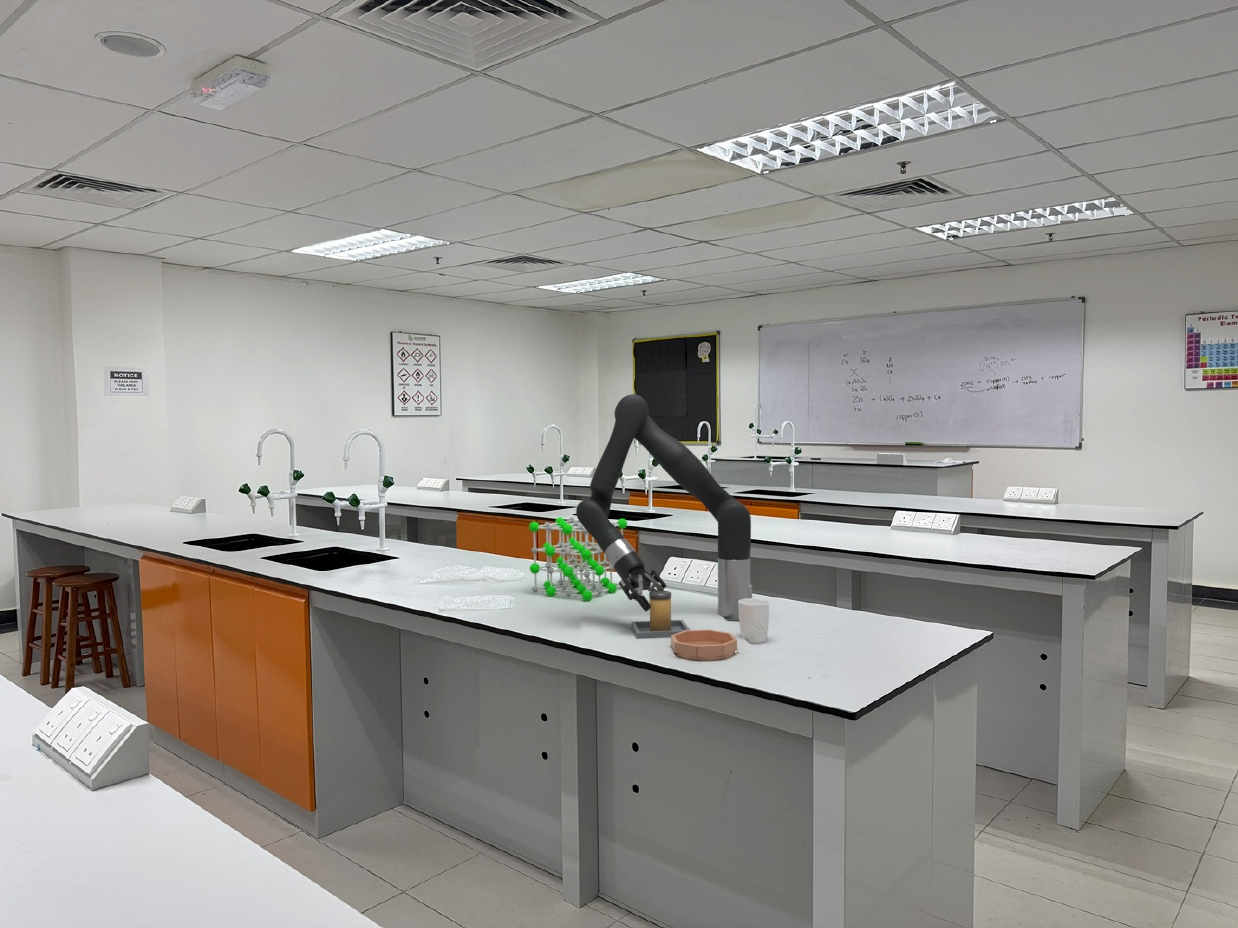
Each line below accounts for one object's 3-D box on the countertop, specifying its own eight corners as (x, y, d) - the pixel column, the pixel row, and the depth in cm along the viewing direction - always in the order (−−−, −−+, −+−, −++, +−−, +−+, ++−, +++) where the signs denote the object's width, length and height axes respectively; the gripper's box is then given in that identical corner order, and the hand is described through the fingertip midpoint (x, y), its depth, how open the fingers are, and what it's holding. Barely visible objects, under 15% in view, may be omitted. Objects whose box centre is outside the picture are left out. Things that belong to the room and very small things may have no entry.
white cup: (762, 645, 206) (762, 606, 205) (733, 641, 210) (733, 602, 209) (774, 638, 212) (773, 600, 212) (745, 634, 216) (745, 597, 216)
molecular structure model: (630, 588, 279) (629, 518, 278) (588, 602, 258) (587, 526, 257) (572, 582, 292) (571, 514, 291) (528, 594, 271) (526, 522, 270)
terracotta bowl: (726, 642, 209) (726, 628, 209) (741, 659, 194) (741, 644, 194) (667, 644, 207) (667, 631, 207) (678, 661, 192) (678, 647, 192)
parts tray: (682, 628, 223) (682, 619, 223) (691, 640, 211) (691, 630, 211) (631, 630, 222) (631, 621, 222) (637, 642, 210) (637, 632, 210)
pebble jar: (669, 628, 220) (669, 590, 219) (673, 633, 214) (672, 594, 214) (648, 629, 219) (647, 590, 219) (651, 634, 213) (650, 595, 213)
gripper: (615, 553, 216) (650, 602, 209) (647, 547, 227) (682, 593, 220) (600, 571, 220) (634, 620, 213) (633, 564, 231) (666, 610, 224)
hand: (658, 606), depth 217 cm, fingers open, 8 cm apart
